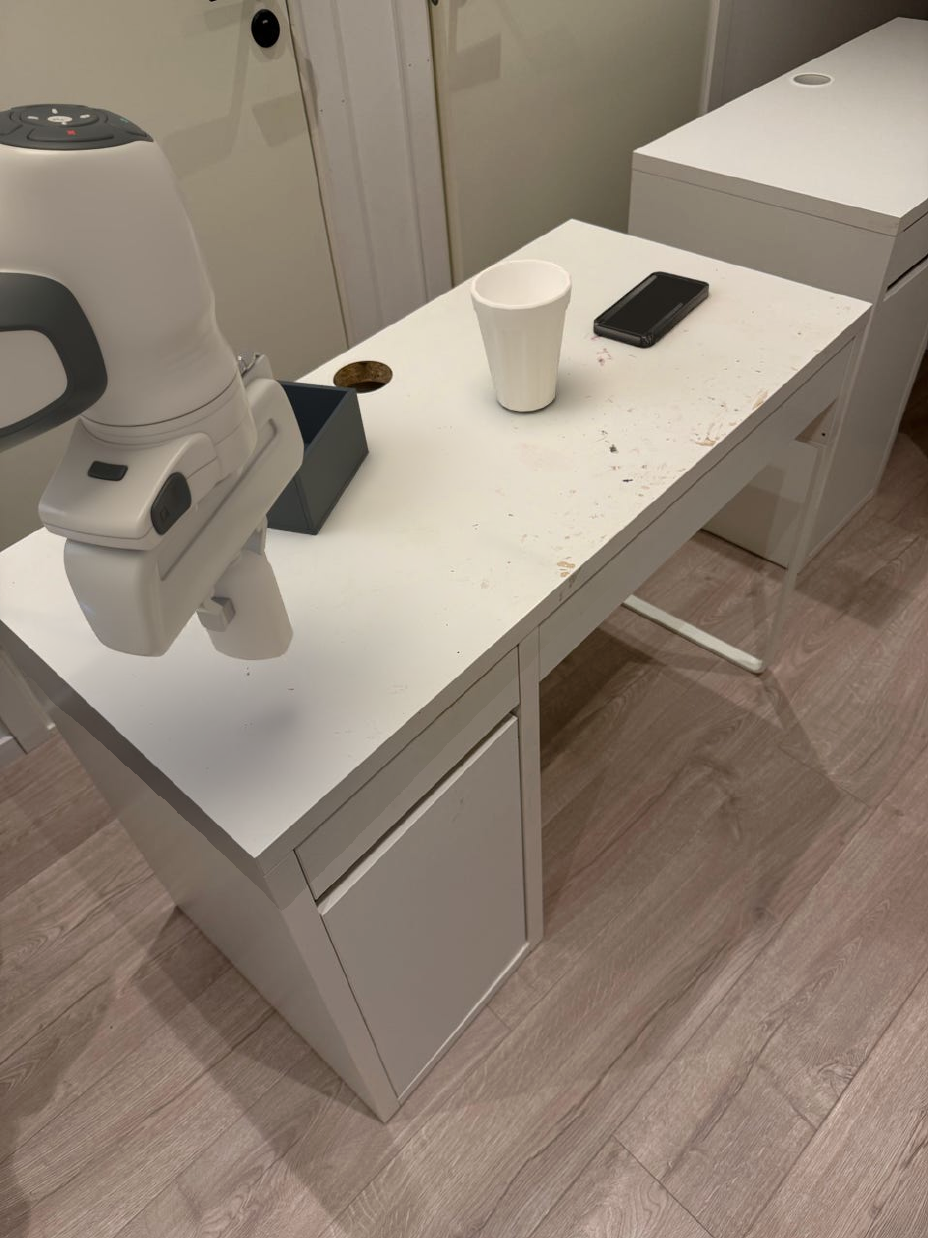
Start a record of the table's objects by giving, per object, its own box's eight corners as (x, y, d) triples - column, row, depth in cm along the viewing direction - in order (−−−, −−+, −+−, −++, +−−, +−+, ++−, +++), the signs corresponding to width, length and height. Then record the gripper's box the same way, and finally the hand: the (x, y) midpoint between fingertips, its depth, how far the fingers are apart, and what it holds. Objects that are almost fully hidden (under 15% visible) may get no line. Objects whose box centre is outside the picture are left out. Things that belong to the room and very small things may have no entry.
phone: (589, 323, 103) (655, 269, 110) (589, 332, 103) (655, 278, 111) (649, 340, 99) (713, 283, 106) (648, 349, 100) (712, 292, 107)
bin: (177, 513, 87) (150, 450, 82) (240, 435, 96) (220, 373, 90) (316, 535, 83) (297, 470, 78) (369, 452, 91) (355, 387, 86)
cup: (590, 387, 96) (591, 270, 86) (540, 435, 91) (535, 316, 81) (513, 364, 100) (507, 251, 91) (461, 408, 95) (449, 293, 86)
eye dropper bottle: (251, 609, 66) (204, 480, 57) (304, 641, 63) (263, 510, 54) (206, 645, 64) (150, 516, 55) (258, 680, 61) (209, 550, 52)
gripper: (215, 329, 57) (265, 497, 67) (14, 531, 44) (114, 702, 54) (302, 338, 56) (341, 508, 66) (120, 550, 43) (203, 723, 53)
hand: (237, 598), depth 60 cm, fingers closed on eye dropper bottle, 3 cm apart
